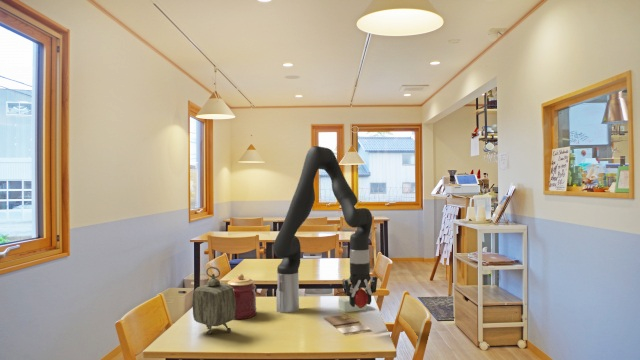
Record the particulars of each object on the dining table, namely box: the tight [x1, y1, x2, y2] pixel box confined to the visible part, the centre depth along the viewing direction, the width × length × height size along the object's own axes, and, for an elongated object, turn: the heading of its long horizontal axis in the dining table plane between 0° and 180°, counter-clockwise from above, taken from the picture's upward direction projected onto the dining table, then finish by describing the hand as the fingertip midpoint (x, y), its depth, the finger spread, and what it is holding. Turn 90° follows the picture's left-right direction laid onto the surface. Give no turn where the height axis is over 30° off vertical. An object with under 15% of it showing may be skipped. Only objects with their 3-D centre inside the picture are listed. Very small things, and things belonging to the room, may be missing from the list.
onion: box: [354, 288, 368, 309], centre depth 165 cm, size 6×6×8 cm
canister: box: [226, 273, 257, 320], centre depth 187 cm, size 13×13×18 cm
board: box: [323, 314, 373, 337], centre depth 170 cm, size 11×22×1 cm, turn 21°
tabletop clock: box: [192, 266, 235, 335], centre depth 166 cm, size 14×9×25 cm, turn 59°
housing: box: [338, 296, 368, 313], centre depth 190 cm, size 11×6×6 cm, turn 111°
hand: (360, 305), depth 165 cm, fingers closed on onion, 6 cm apart
